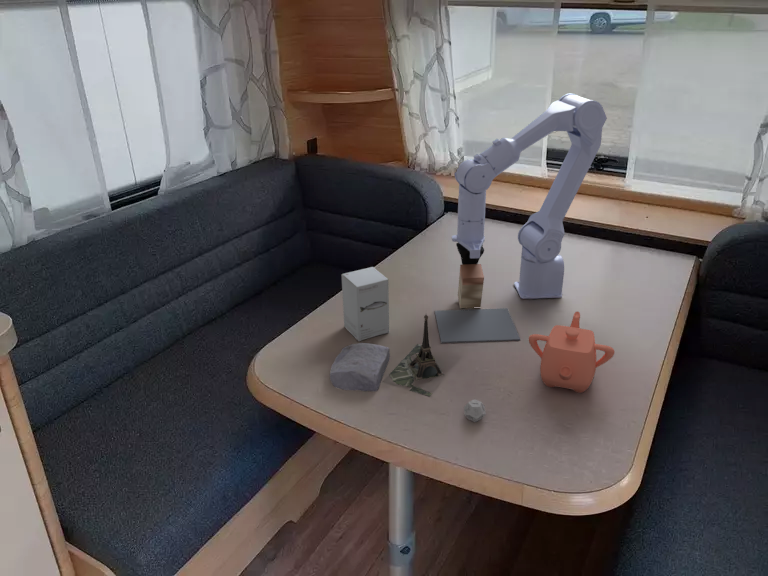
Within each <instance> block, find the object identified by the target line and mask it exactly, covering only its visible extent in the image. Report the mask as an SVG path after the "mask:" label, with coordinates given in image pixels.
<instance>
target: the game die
mask: <svg viewBox="0 0 768 576" xmlns="http://www.w3.org/2000/svg"><path fill="white" fill-rule="evenodd" d="M463 412H464V413H463V414H464V416H465V417H466V419H468V420H469V421H471V422H475V423H477V422H478V421H480V420H482V419H483V418H484V417H485V416H486V415H487V412H486V406H485V405H484V403H483V402H482V401H480V400H478V399H475V398H474V399H472V400H470V401H468V402H467V403H466V404H465V405H464V407H463Z"/></svg>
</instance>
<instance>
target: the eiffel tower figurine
mask: <svg viewBox="0 0 768 576" xmlns="http://www.w3.org/2000/svg"><path fill="white" fill-rule="evenodd" d="M423 316H424V317H423V319H424V321H423V322H424V325H423V335H422V336H423V337H422V343H421V344H418V343H417V344H416V345H415V346H414V347H413V348H412V349H411V351H409V352H408V354H406V356H404V358H403V359H402V360H401V361H400V362H399V363H398V364H397V365H396V366H395V367H394V368H393V369H392V370H391V371H390V373H389V377H390V378H391V380H392V382H393V383H395V384H396V385H400V386H402V387H408V388H410V389H409V390H408V391H409V392H412V393H416V394H421V395H424V396H428V397H431V396H432V395H433V393H432V392H429V391H426V390H425V389H423V388H422V387H420V386H415V385H414V384H413V383H414V382H415V379H416V381H421V380H422V381H423V380H427V379H431V378H436V377H437V378H438V377H440V376H441V377H442V376H445V374H444V372H443V370H442V369H441V367H440V366H439V365H438V363H437V362H436V358H435V357H434V355H433V353H432V348H431V345H430V338H429V337H430V336H429V326H428V325H429V324H428V319H429V316H428V315H427V314H424V315H423ZM413 355H416V356H415V358H413V360H412V356H413Z"/></svg>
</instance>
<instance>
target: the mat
mask: <svg viewBox="0 0 768 576" xmlns="http://www.w3.org/2000/svg"><path fill="white" fill-rule="evenodd" d="M434 314H435V319H436V324H437V329H438V335H439V339H440V344H447V343H449V344H452V343H453V344H455V343H479V342H481V343H483V342H484V343H485V342H487V341H488V342H509V341H510V342H511V341H515V342H516V341H517V342H518V341H521V337H520V335H519V333H518V331H517V328H516V326H515V323H514V320H513V318H512V316H511V313H510V312H509V308H506V307H505V308H504V307H503V308H472V309H448V310H447V309H446V310H445V309H444V310H441V309H440V310H434Z"/></svg>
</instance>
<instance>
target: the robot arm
mask: <svg viewBox="0 0 768 576" xmlns="http://www.w3.org/2000/svg"><path fill="white" fill-rule="evenodd" d="M607 119H608V118H607V114H606V111H605V110H604V107H603V105H602V104H601V103H600V102H599V101H597V100H594V99H589V98H586V97H582V96H579V95H578V94H576V93H571V92H570V93H569V92H568V93H566V94H564V95H562V96H561V97H559V99H558V100H555V101H553V102H551V103H550V104H549V106H548V108H547V109H546V110H545V111H543V112H542V113H541V114H540V115H539V116H537V117H536V118H535V119H534V120H532V121H531V122H530V123H528V124H527V125H526V126H525V127H524V128H522V129H521V130H520V131H519V132H518V133H515V135H514V136H513V137H511V138H509V137H508V138H507V137H502V138H496V139H495V140H493V141H492V145H490V146H489V147H487V148H485V150H484V151H481V152H480V153H476V154H475V155H474V156H473V159H466V160H464V161H462V162H461V163H460V164H459V165H458V168H457V169H456V172H454V178H455V179H454V180H455V181H456V182H457V183H458V199H457V200H458V202H457V203H458V205H457V227H456V228H457V231H456V233H457V234H454V235H453V234H452V235H451V241H452V242H455V243H456V247H457V251H458V254H459V256H460V260H461V265H464V264H479V261H480V259H481V257H482V256H483V254H484V252H485V248H484V247H483V246H484V243H485V239H486V238H485V221H486V200H487V199H486V198H487V190H488V189H489V188H490V187H491V185H492V183H493V180H494V179H495V178H496V177H497V176H499V175H500V174H502V173H503V172H505V171H506V170H508V169H509V168H510V167H512V166H513V165H514V164H516V163H517V162H518V161H520V157H521V154H522V152H523V151H524V150H526V149H528V148H530V147H531V146H533V145H534V144H536V143H537V142H540V140H542V139H544V138H545V137H547V136H548V135H550V134H551V133H553V132H566V134H567V136H568V138H569V140H570V142H571V145H570V147H569V149H568V152H567V154H566V155H565V157H564V160H563V162H562V163H561V166H560V168H559V170H558V172H557V174H556V176H555V179H554V180H553V182H552V184H551V186H550V188H549V190H548V193H547V194H546V197H545V199H544V201H543V203H542V205H541V208H540V209H539V211H536V212H535V213H532V214H531V215H530V216H529V218H528V220H527V222H525V224H523V225H522V226H521V227H520V228H519V230H518V233H517V240H518V243H519V244H520V245H521V255H520V268H519V280H518V281H514V283H513V285H514V287H515V288H516V291H517V293H518V295H519V298H520V299H522V300H529V299H532V300H533V299H556V298H557V299H558V298H559V299H560V298H563V294H562V293H563V283H564V276H565V262H564V261H565V260H564V258H563V256H562V255H561V254H560V252H561V250H562V242H563V239H564V237H565V229H564V224H563V223H564V222H563V221H564V219H565V217H566V215H567V213H568V211H569V209H570V207H571V205H572V204H573V200H574V199H575V198H576V196H577V193H578V191H579V189H580V187H581V185H582V184H583V181H584V179H585V178H586V175H587V173H588V171H589V170H590V167H591V165H592V163H593V161H594V159H595V158H596V155H597V153H598V151H599V150H600V148H601V146H602V145H601V144H602V135H603V128H604V125H605V124H606V121H607Z"/></svg>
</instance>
